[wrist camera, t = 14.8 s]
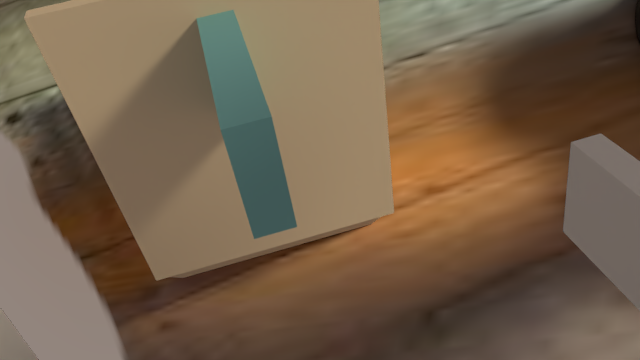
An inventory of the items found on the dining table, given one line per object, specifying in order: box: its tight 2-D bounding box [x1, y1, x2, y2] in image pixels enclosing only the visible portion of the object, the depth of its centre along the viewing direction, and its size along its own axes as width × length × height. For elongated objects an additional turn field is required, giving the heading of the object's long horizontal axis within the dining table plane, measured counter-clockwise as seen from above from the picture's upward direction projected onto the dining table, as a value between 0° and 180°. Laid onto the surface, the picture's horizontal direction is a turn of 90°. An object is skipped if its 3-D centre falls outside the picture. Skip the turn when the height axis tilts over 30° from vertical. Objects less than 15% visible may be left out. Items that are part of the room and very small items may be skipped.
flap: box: [24, 0, 394, 281], centre depth 31 cm, size 20×18×12 cm
